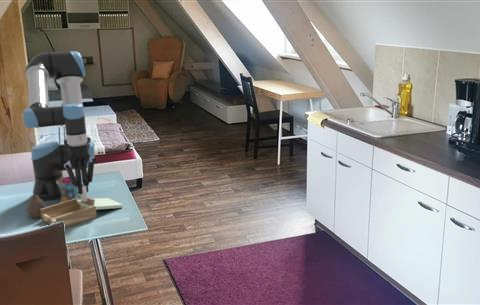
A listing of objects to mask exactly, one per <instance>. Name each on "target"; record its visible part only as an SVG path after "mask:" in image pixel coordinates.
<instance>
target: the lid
mask: <svg viewBox="0 0 480 305" xmlns="http://www.w3.org/2000/svg"><path fill="white" fill-rule="evenodd" d="M87 199H88V201H86V202H83V201H81V200H76V203H78V204H80V205H82V206H84V207H85V208H89V207H92V206H96V211H97V210H108V209H109V210H110V209H120V208H121V209H123V204H122V203H119V202H117V201H115V200H113V199H111V198H109V197H102V198H92V197H90V196H88V195H87Z"/></svg>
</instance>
